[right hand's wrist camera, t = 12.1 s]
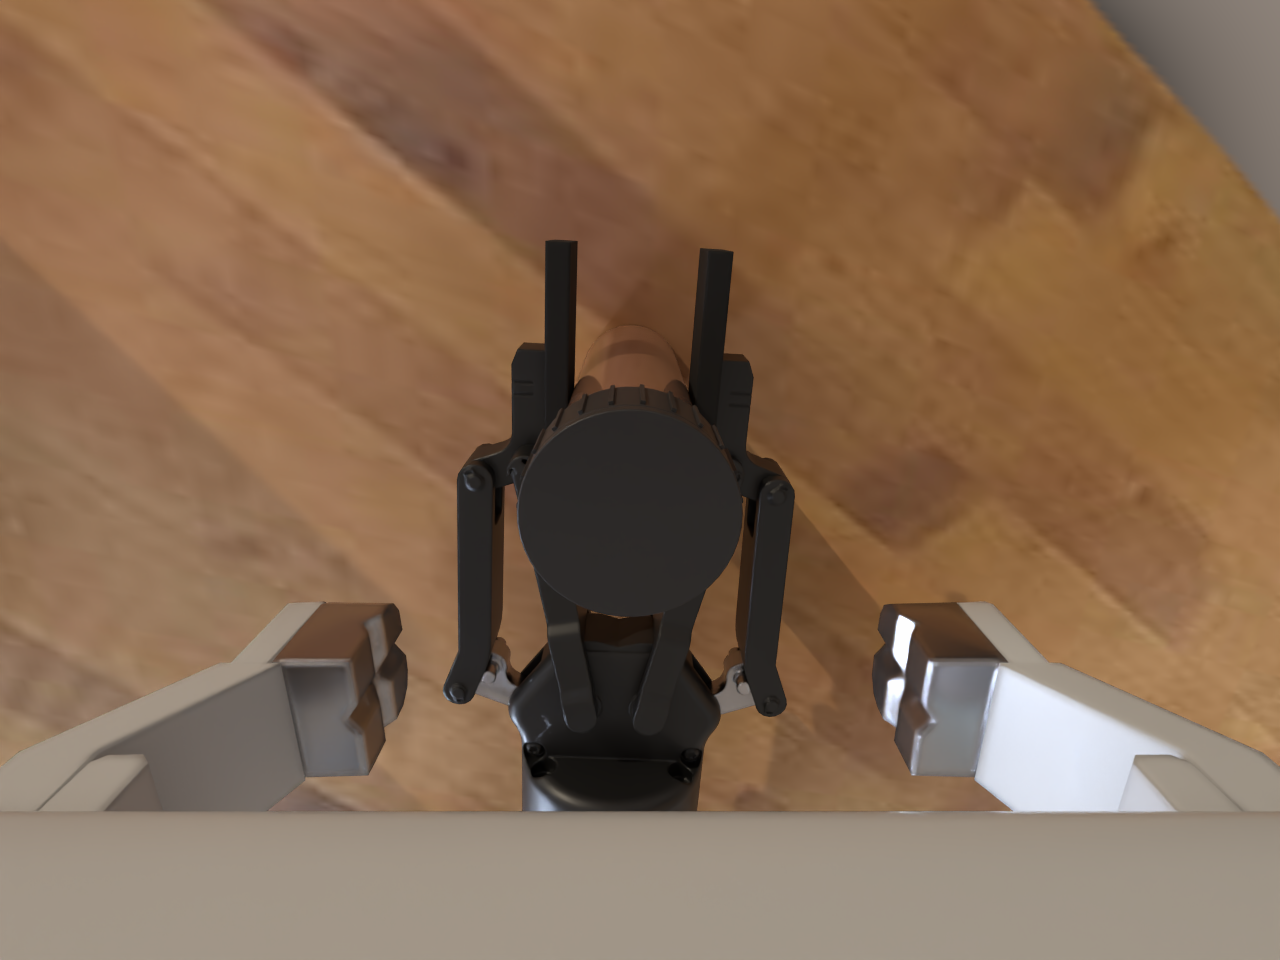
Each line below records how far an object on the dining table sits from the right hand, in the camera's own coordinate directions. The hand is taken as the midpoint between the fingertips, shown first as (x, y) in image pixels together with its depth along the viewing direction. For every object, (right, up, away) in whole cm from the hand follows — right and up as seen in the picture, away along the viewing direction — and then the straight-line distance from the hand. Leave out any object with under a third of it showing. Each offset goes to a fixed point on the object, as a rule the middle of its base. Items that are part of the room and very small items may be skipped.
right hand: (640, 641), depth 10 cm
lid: (0, +2, +5) cm, 5 cm away
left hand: (0, +10, +11) cm, 15 cm away
